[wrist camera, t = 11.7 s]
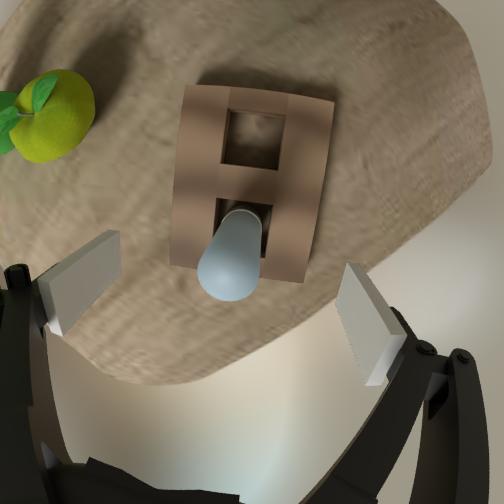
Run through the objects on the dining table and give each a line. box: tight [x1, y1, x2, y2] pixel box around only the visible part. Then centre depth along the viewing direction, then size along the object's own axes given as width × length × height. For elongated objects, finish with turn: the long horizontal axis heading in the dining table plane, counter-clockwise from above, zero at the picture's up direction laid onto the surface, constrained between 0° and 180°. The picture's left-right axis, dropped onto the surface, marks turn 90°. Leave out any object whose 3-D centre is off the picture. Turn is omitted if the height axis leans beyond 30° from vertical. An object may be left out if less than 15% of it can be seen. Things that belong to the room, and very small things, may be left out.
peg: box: [197, 205, 262, 301], centre depth 22 cm, size 4×4×12 cm
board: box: [170, 85, 335, 283], centre depth 25 cm, size 17×13×2 cm
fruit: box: [0, 69, 95, 163], centre depth 19 cm, size 9×9×10 cm
